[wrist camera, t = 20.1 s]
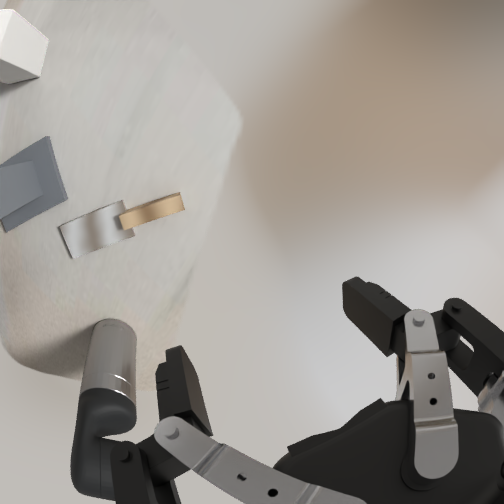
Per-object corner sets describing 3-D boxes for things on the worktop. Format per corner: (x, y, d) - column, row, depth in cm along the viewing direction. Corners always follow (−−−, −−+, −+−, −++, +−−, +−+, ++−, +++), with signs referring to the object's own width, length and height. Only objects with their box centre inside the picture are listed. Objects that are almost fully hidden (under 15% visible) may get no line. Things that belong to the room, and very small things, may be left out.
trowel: (176, 181, 41) (177, 183, 39) (187, 216, 43) (188, 220, 41) (61, 224, 37) (56, 229, 35) (74, 256, 39) (70, 262, 37)
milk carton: (9, 84, 24) (-55, 68, 7) (18, 48, 21) (-37, 18, 4) (40, 77, 26) (-20, 50, 9) (50, 39, 23) (1, -2, 7)
